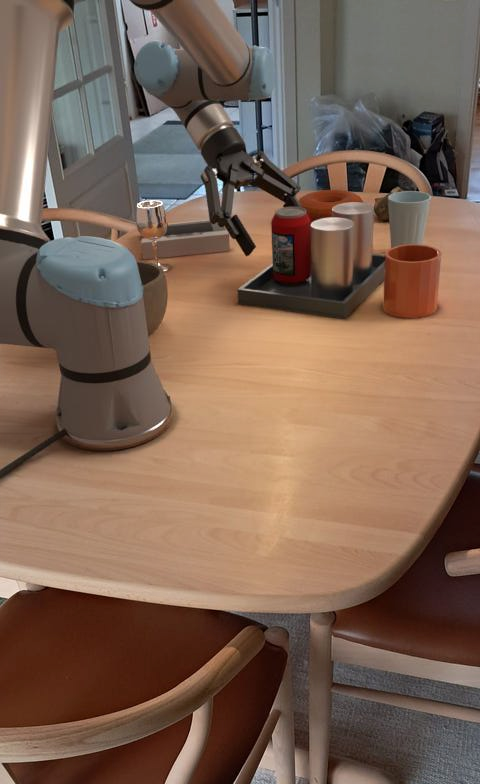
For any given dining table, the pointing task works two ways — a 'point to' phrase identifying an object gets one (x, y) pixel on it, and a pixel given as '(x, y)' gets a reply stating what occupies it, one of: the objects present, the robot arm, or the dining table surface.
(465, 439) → the dining table surface
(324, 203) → the donut
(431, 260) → the terracotta mug
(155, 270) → the bowl
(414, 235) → the cup
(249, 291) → the tray
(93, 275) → the robot arm
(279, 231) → the beverage can
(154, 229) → the wineglass
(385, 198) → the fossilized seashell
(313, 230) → the silver can
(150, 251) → the rectangular box
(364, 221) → the silver can
